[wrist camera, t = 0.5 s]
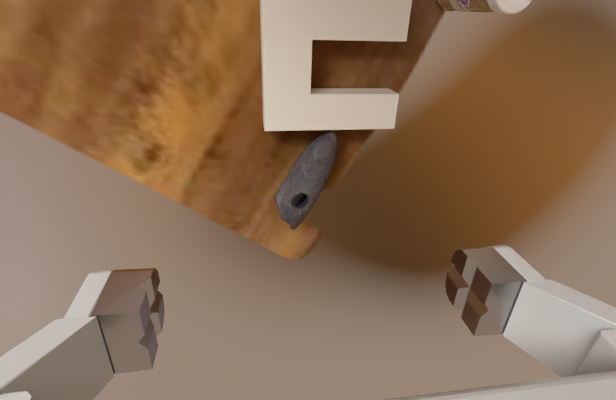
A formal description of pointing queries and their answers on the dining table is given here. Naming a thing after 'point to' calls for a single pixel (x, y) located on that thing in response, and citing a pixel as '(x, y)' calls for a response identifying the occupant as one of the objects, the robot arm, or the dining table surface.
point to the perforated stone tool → (307, 179)
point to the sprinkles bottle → (485, 5)
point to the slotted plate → (298, 59)
